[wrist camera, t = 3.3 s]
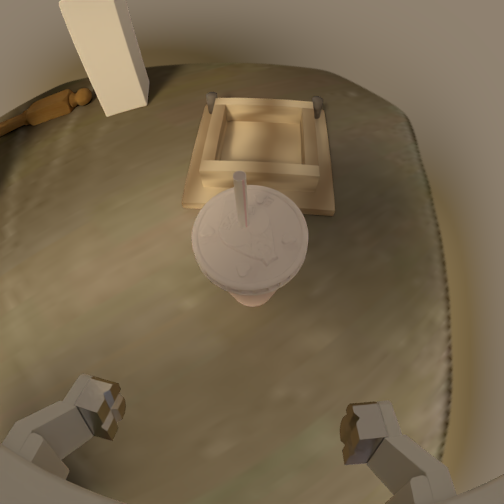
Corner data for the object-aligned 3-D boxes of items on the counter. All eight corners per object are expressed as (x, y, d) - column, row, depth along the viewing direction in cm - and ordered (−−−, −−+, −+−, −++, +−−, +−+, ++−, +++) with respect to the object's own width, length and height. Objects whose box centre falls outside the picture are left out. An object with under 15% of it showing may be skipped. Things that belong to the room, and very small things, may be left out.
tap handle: (-28, 133, 34) (90, 81, 34) (-20, 142, 37) (96, 95, 37) (-34, 145, 33) (83, 93, 33) (-26, 154, 35) (91, 107, 36)
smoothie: (260, 235, 27) (262, 112, 14) (306, 292, 25) (357, 201, 12) (199, 276, 25) (145, 175, 12) (243, 338, 23) (225, 293, 10)
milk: (107, 117, 34) (48, -17, 14) (112, 93, 36) (66, -29, 16) (148, 105, 34) (102, -41, 14) (150, 82, 37) (114, -48, 16)
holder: (183, 208, 28) (175, 187, 25) (206, 111, 33) (202, 89, 30) (332, 216, 27) (341, 195, 24) (322, 116, 33) (327, 94, 29)
